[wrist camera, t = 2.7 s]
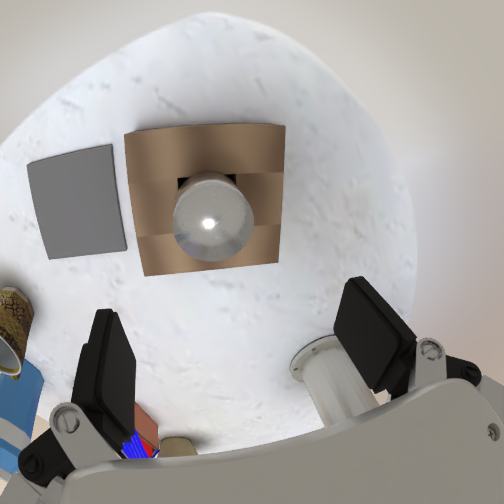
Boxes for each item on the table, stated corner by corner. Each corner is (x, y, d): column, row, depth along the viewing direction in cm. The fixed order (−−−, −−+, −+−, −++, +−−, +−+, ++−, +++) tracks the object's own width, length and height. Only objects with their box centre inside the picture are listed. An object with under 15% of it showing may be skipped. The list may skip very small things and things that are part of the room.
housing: (269, 123, 26) (285, 125, 22) (265, 242, 33) (278, 262, 29) (134, 131, 23) (124, 134, 19) (148, 253, 30) (144, 276, 26)
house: (159, 424, 49) (162, 468, 39) (89, 427, 47) (87, 467, 37) (135, 400, 43) (135, 452, 33) (61, 403, 41) (54, 447, 31)
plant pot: (206, 430, 54) (218, 488, 40) (202, 449, 60) (211, 497, 47) (144, 429, 49) (148, 488, 36) (150, 449, 56) (154, 498, 42)
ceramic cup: (-14, 273, 25) (-45, 315, 16) (32, 278, 27) (2, 327, 19) (11, 337, 30) (-7, 380, 22) (55, 345, 33) (40, 393, 25)
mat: (112, 144, 23) (110, 145, 23) (127, 248, 29) (126, 250, 29) (29, 163, 21) (26, 164, 21) (50, 257, 27) (48, 259, 26)
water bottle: (22, 383, 36) (3, 482, 14) (-2, 354, 31) (-33, 458, 10) (52, 385, 37) (36, 495, 16) (27, 354, 33) (-3, 474, 11)
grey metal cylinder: (231, 160, 27) (254, 183, 19) (232, 213, 30) (253, 257, 22) (174, 164, 26) (168, 189, 18) (178, 218, 29) (177, 265, 20)
